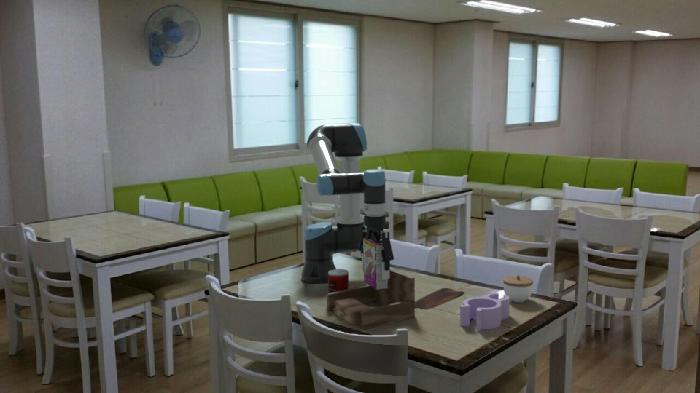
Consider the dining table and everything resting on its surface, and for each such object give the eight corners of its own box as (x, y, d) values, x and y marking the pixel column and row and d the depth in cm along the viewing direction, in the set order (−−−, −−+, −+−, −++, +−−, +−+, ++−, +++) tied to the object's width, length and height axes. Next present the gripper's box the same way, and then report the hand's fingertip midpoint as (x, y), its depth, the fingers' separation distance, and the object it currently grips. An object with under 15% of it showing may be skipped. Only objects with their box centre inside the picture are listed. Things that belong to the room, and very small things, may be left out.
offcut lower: (334, 314, 227) (334, 307, 226) (351, 311, 230) (351, 304, 230) (354, 326, 215) (354, 319, 214) (372, 322, 218) (371, 315, 218)
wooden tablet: (426, 308, 227) (403, 300, 233) (425, 314, 227) (403, 305, 234) (466, 291, 246) (444, 283, 253) (465, 296, 247) (444, 288, 253)
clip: (487, 309, 228) (487, 290, 227) (518, 317, 219) (518, 298, 218) (453, 324, 214) (453, 304, 213) (485, 333, 206) (485, 312, 204)
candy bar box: (362, 281, 231) (362, 237, 228) (375, 279, 232) (375, 236, 230) (375, 290, 220) (375, 244, 218) (388, 288, 222) (388, 243, 219)
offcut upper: (335, 307, 227) (335, 301, 226) (352, 304, 230) (352, 297, 230) (354, 319, 214) (354, 312, 214) (372, 315, 218) (372, 308, 217)
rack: (327, 309, 231) (326, 272, 228) (375, 298, 242) (375, 262, 240) (363, 329, 211) (363, 288, 208) (414, 316, 222) (414, 277, 220)
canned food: (351, 297, 244) (350, 269, 242) (345, 303, 237) (345, 275, 235) (332, 296, 246) (331, 268, 244) (326, 302, 239) (325, 274, 237)
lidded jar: (499, 302, 235) (500, 277, 233) (506, 293, 244) (506, 270, 243) (529, 306, 230) (530, 281, 229) (535, 297, 240) (535, 273, 238)
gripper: (347, 210, 230) (348, 268, 234) (385, 221, 210) (386, 285, 214) (364, 207, 234) (365, 265, 238) (404, 218, 214) (404, 281, 218)
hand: (375, 274), depth 226 cm, fingers closed on candy bar box, 12 cm apart
